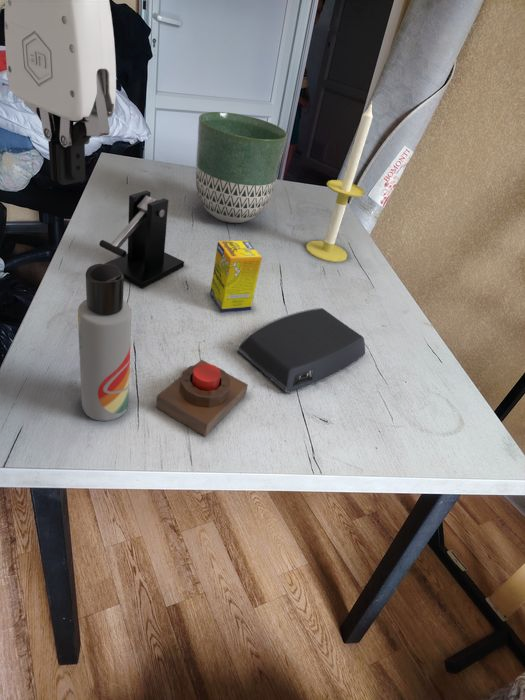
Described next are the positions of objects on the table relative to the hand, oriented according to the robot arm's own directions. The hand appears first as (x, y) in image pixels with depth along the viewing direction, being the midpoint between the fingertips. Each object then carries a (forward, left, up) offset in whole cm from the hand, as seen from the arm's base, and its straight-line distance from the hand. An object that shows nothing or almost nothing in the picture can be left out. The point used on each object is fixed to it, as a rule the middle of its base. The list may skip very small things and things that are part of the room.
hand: (68, 180), depth 51 cm
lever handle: (+24, +12, -17) cm, 32 cm away
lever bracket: (+28, +12, -26) cm, 40 cm away
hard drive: (+26, -23, -26) cm, 43 cm away
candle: (+66, -10, -26) cm, 71 cm away
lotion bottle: (-3, -8, -26) cm, 28 cm away
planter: (+62, +15, -26) cm, 68 cm away
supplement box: (+30, -6, -26) cm, 40 cm away
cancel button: (+6, -17, -22) cm, 29 cm away
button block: (+6, -17, -26) cm, 32 cm away
